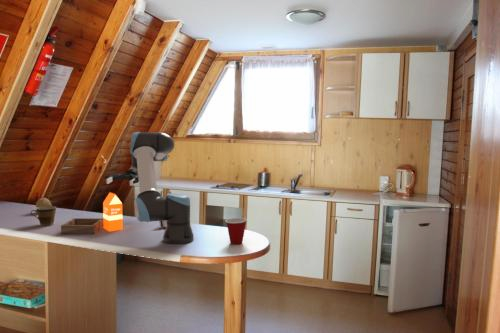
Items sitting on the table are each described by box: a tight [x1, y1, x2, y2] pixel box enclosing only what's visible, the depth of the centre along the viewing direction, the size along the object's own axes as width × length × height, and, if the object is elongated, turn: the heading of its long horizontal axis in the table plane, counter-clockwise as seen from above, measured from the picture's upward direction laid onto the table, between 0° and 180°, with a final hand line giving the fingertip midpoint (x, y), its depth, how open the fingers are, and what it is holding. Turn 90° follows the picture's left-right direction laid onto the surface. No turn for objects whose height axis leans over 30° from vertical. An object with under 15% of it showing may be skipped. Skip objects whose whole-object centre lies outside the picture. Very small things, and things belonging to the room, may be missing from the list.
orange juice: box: [102, 192, 124, 232], centre depth 224 cm, size 8×9×20 cm
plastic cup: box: [224, 217, 248, 246], centre depth 201 cm, size 11×11×12 cm
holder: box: [60, 217, 104, 235], centre depth 222 cm, size 17×17×4 cm
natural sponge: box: [35, 197, 53, 208], centre depth 262 cm, size 9×9×10 cm
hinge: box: [158, 220, 167, 229], centre depth 235 cm, size 17×5×10 cm, turn 147°
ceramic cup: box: [30, 205, 57, 227], centre depth 230 cm, size 13×10×10 cm
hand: (118, 182), depth 231 cm, fingers open, 13 cm apart
